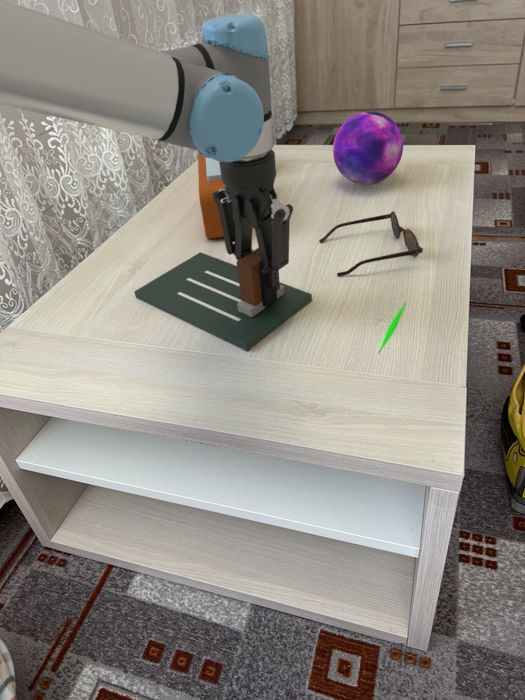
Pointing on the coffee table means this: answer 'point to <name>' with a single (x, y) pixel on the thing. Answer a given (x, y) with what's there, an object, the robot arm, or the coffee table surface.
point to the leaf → (392, 327)
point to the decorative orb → (368, 148)
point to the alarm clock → (210, 195)
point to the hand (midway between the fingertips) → (261, 298)
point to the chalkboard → (218, 301)
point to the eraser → (252, 284)
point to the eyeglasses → (408, 235)
